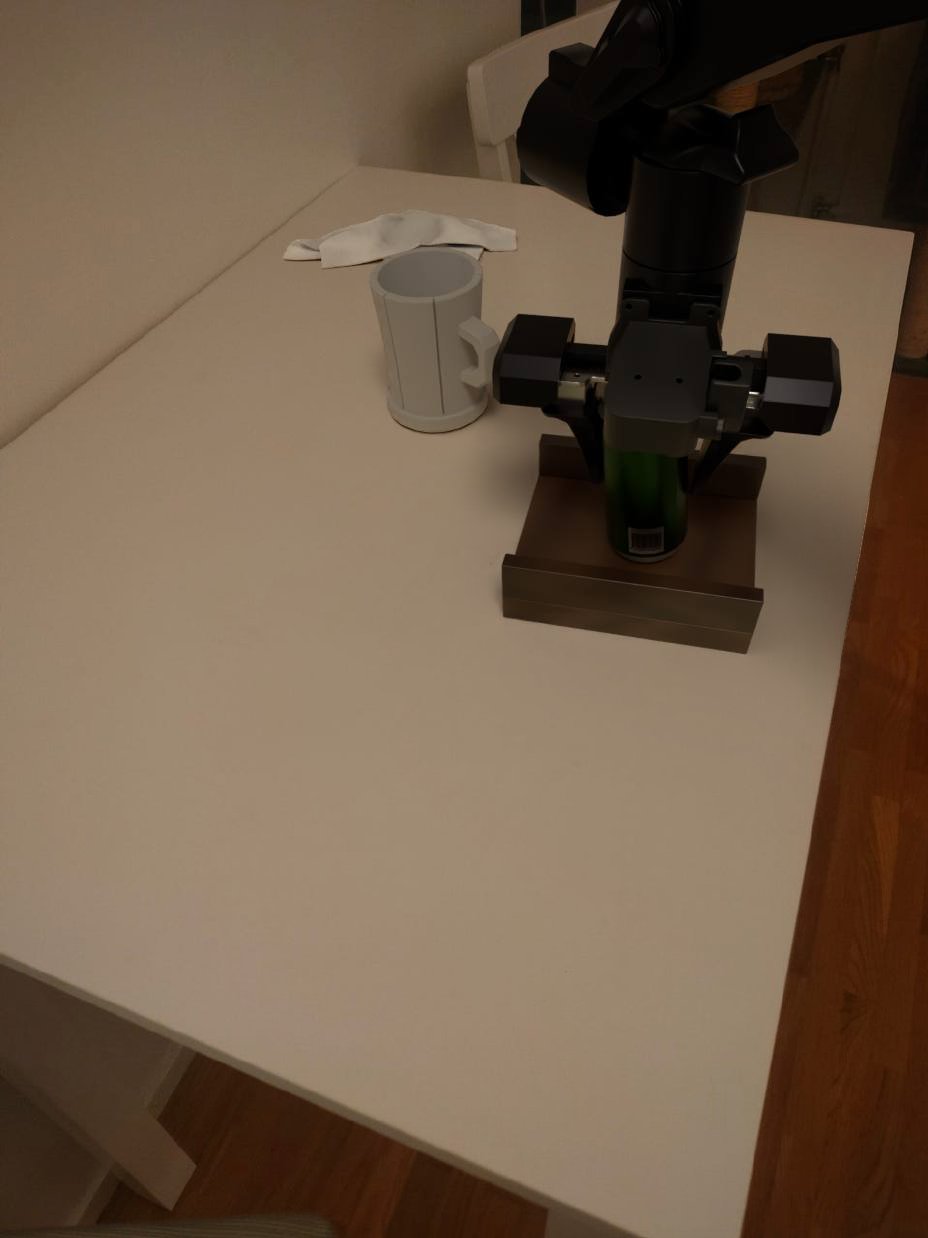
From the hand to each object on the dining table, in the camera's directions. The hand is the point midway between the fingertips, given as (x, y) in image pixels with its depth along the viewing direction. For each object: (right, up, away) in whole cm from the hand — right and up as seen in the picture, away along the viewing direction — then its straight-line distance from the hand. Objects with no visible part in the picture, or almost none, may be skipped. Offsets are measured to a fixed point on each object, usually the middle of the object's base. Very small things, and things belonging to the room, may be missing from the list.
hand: (644, 485), depth 53 cm
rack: (0, -4, +5) cm, 7 cm away
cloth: (-19, +34, +40) cm, 56 cm away
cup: (-13, +10, +19) cm, 25 cm away
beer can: (+1, -3, +4) cm, 5 cm away
